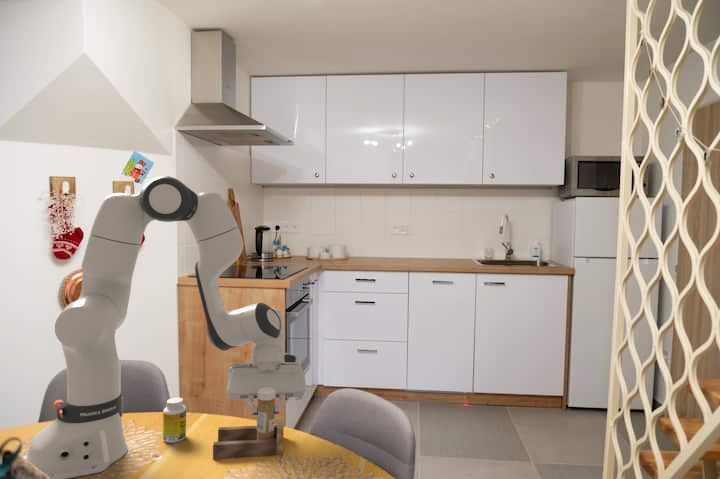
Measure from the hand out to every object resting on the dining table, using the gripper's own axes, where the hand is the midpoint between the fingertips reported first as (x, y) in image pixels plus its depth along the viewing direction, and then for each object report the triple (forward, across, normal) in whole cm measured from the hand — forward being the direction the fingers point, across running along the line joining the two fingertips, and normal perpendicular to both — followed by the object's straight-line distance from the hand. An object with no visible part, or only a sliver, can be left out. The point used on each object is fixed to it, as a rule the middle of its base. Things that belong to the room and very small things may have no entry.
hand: (265, 413), depth 115 cm
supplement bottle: (+1, -24, +12) cm, 26 cm away
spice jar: (+5, 0, +6) cm, 8 cm away
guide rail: (+6, -4, +7) cm, 10 cm away
